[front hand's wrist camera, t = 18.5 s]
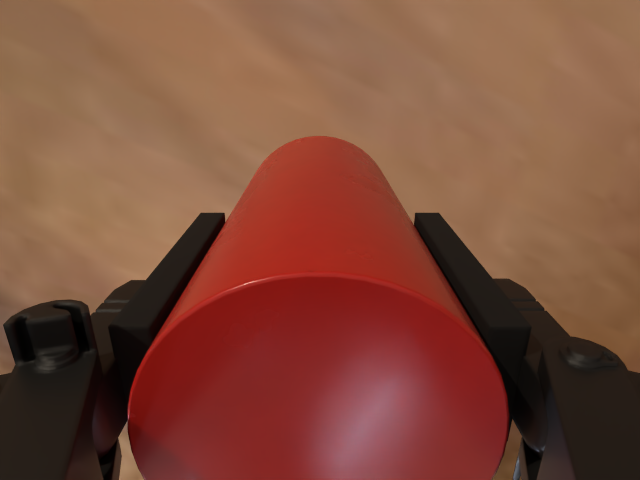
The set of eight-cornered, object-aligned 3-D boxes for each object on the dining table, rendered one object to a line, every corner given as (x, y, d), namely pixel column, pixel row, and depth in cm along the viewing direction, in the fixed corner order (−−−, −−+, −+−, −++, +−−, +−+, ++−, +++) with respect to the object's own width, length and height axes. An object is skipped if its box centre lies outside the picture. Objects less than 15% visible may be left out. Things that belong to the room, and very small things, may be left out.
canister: (359, 287, 20) (414, 595, 8) (231, 247, 19) (97, 523, 8) (413, 165, 18) (588, 347, 6) (272, 114, 17) (171, 212, 5)
